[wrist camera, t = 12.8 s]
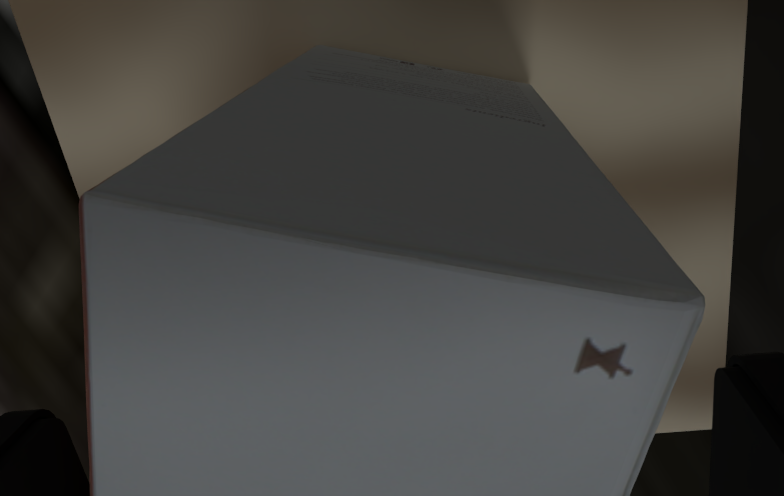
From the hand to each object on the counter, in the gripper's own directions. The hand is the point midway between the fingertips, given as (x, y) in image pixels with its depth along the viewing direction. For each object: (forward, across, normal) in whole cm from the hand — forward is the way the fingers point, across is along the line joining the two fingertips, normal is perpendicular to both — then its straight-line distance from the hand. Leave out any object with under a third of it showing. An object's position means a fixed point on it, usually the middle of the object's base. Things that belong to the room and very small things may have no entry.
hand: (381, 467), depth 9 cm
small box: (+12, 0, -1) cm, 12 cm away
